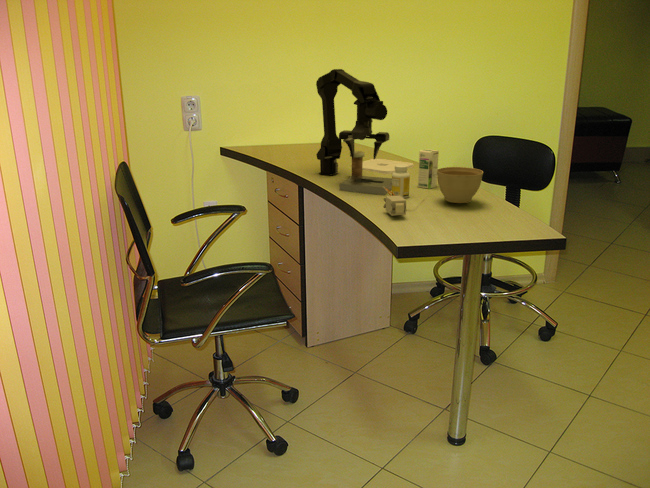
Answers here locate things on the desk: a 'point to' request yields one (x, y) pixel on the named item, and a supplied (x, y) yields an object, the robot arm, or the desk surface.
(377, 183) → the keyhole plate
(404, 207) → the electrical component
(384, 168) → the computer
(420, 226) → the desk surface
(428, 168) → the syrup box
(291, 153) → the desk surface
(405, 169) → the pill bottle
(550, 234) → the desk surface
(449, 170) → the planter bowl
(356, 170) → the walnut peg
